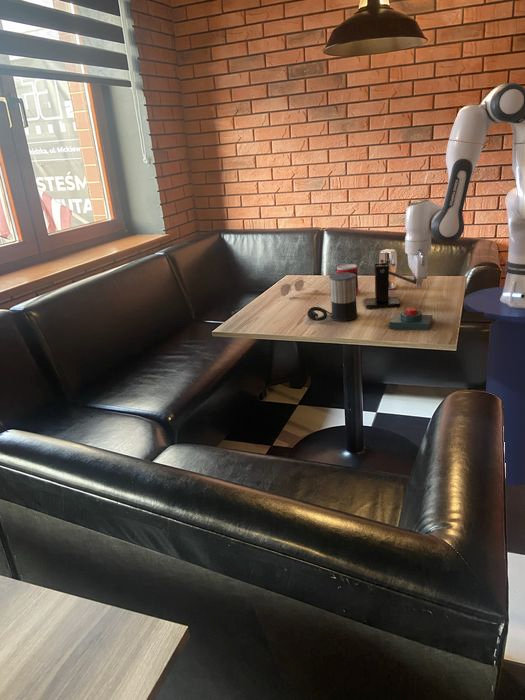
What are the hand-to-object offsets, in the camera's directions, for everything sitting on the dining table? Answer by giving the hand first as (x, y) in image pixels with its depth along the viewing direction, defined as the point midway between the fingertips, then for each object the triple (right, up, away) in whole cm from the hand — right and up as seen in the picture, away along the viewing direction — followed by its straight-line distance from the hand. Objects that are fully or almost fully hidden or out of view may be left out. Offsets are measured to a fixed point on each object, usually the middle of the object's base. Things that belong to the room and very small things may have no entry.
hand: (417, 285), depth 194 cm
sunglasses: (-41, -1, +26) cm, 49 cm away
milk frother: (-31, -12, -6) cm, 34 cm away
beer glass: (-5, +2, +24) cm, 25 cm away
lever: (-7, +2, 0) cm, 8 cm away
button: (-8, -12, -22) cm, 26 cm away
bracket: (-12, -6, +4) cm, 14 cm away
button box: (-8, -15, -21) cm, 27 cm away
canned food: (-21, -1, +22) cm, 31 cm away
